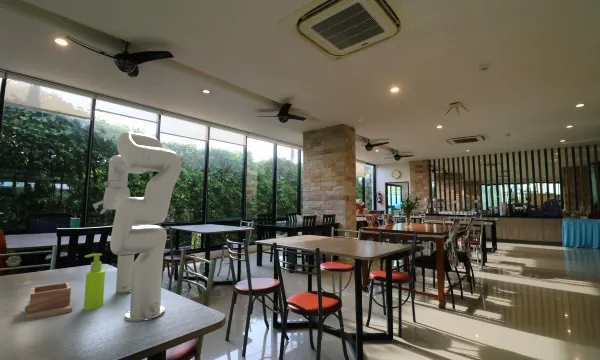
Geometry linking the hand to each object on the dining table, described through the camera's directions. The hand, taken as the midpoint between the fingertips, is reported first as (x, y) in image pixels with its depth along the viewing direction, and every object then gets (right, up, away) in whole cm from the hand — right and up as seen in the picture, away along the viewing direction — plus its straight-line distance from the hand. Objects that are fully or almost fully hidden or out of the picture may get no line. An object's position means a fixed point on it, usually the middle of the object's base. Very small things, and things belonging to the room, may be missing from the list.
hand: (115, 222), depth 126 cm
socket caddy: (-11, -29, -21) cm, 38 cm away
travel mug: (+5, -31, -2) cm, 32 cm away
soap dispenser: (+4, -30, -19) cm, 35 cm away
